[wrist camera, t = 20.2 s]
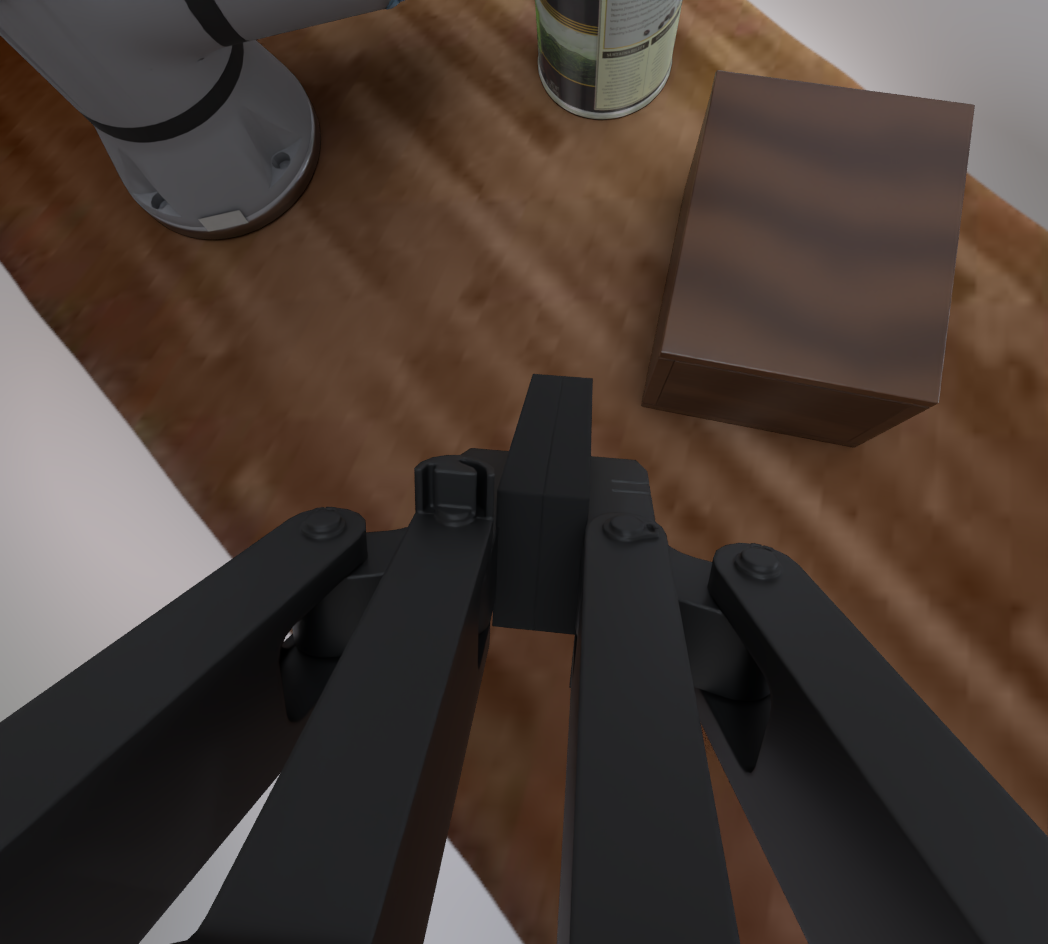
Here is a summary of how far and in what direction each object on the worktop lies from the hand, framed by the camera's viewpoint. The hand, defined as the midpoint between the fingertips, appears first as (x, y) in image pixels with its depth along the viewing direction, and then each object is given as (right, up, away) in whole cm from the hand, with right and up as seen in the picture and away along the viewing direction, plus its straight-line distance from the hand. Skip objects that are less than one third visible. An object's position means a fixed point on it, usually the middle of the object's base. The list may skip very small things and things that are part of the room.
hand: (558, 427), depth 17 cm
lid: (+15, +12, +20) cm, 28 cm away
